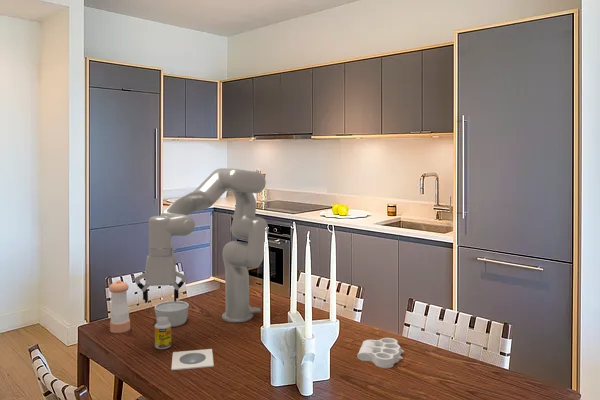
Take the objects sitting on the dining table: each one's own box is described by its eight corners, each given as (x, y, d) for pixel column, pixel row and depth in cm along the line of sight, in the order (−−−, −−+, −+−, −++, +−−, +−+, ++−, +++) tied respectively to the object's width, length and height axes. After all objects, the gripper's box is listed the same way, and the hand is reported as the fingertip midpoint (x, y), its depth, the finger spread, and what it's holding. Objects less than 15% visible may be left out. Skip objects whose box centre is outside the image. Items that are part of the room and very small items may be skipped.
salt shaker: (134, 327, 185) (132, 279, 183) (121, 334, 178) (119, 284, 176) (118, 325, 188) (117, 277, 186) (105, 331, 181) (103, 282, 179)
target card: (212, 350, 165) (212, 348, 164) (213, 366, 152) (213, 365, 152) (172, 353, 162) (172, 351, 162) (171, 370, 149) (171, 368, 149)
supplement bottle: (157, 351, 163) (157, 322, 162) (152, 345, 168) (152, 317, 167) (173, 347, 166) (173, 319, 165) (168, 342, 171) (168, 314, 170)
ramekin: (196, 320, 193) (195, 304, 192) (171, 331, 182) (170, 313, 181) (173, 314, 200) (172, 298, 199) (147, 324, 189) (147, 307, 188)
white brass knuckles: (364, 344, 171) (406, 349, 167) (355, 365, 154) (401, 371, 150) (364, 334, 171) (406, 339, 167) (355, 355, 154) (401, 361, 150)
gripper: (186, 249, 169) (186, 296, 171) (135, 250, 165) (135, 299, 167) (186, 253, 162) (186, 303, 163) (132, 255, 158) (133, 305, 160)
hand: (161, 301), depth 165 cm, fingers open, 9 cm apart
